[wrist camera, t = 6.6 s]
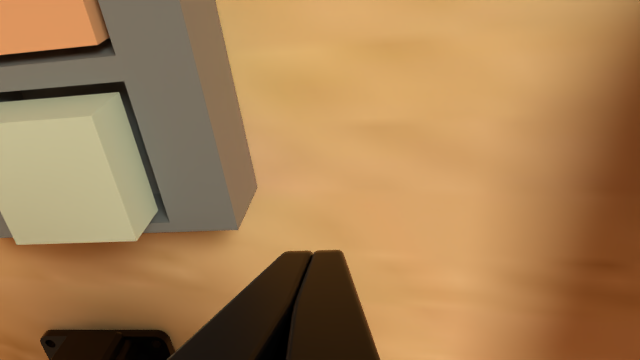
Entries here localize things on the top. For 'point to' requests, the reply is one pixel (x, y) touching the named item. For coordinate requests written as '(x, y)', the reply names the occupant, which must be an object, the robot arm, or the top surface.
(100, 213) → the sage key
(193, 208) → the button panel
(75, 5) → the terracotta key
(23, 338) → the top surface
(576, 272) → the top surface
